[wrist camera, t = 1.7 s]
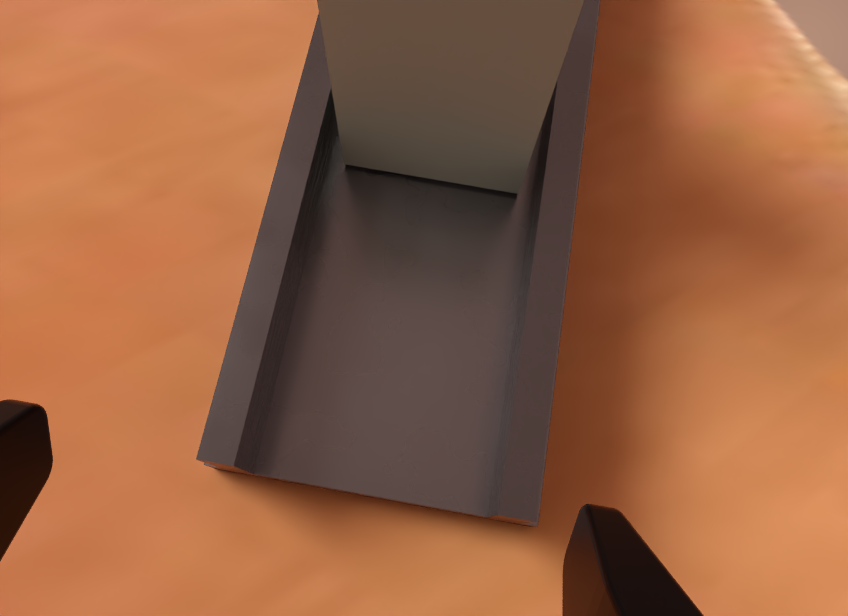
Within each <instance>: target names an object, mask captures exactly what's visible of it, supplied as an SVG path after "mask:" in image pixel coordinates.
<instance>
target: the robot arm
mask: <svg viewBox="0 0 848 616" xmlns="http://www.w3.org/2000/svg"><path fill="white" fill-rule="evenodd" d="M52 463H53V456H52V448H51V441H50V433H49V426H48V418H47V414H46V411H45V410H44V408H43V407H42V406H40V405H38V404H34V403H29V402H23V401H18V400H3V401H0V561H1V559H2V557H3V556H4V554H5V552H6V551H7V549H8V547H9V545H10V544H11V542H12V540H13V538H14V537H15V535H16V533H17V532H18V530H19V528H20V526H21V525H22V523H23V521H24V519H25V518H26V516H27V514H28V513H29V511H30V509H31V507H32V506H33V504H34V502H35V500H36V499H37V497H38V495H39V494H40V492H41V490H42V488H43V487H44V485H45V483H46V481H47V480H48V478H49V475H50V472H51V469H52ZM563 616H704V615H703V614H702V613H701V612H700V610H699V609H698V608H697V607H696V605H695V604H694V603H693V602H692V600H691V599H690V598H689V597H688V595H687V594H686V593H685V592H684V590H683V589H682V588H681V587H680V585H679V584H678V583H677V582H676V580H675V579H674V578H673V576H672V575H671V574H670V573H669V571H668V570H667V569H666V568H665V566H664V565H663V564H662V563H661V561H660V560H659V559H658V558H657V556H656V555H655V554H654V553H653V551H652V550H651V549H650V548H649V546H648V545H647V544H646V543H645V541H644V540H643V539H642V538H641V536H640V535H639V534H638V533H637V531H636V530H635V529H634V528H633V526H632V525H631V524H630V523H629V521H628V520H627V519H626V518H625V516H624V515H623V514H622V513H621V512H620V511H619V510H617V509H614V508H609V507H604V506H598V505H593V504H586V505H584V506H583V507H582V508H581V510H580V511H579V514H578V517H577V520H576V523H575V526H574V529H573V532H572V535H571V538H570V541H569V544H568V547H567V550H566V554H565V558H564V565H563Z"/></svg>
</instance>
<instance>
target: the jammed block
mask: <svg viewBox="0 0 848 616" xmlns="http://www.w3.org/2000/svg"><path fill="white" fill-rule="evenodd" d="M317 2H318V9H319V15H320V21H321V27H322V33H323V39H324V45H325V52H326V58H327V64H328V70H329V76H330V82H331V89H332V95H333V101H334V107H335V113H336V119H337V125H338V132H339V138H340V144H341V150H342V156H343V162H344V164H347V165H353V166H358V167H364V168H370V169H376V170H382V171H388V172H393V173H399V174H405V175H411V176H417V177H423V178H429V179H434V180H440V181H446V182H452V183H458V184H464V185H469V186H475V187H481V188H487V189H493V190H499V191H504V192H510V193H516V194H519V191H520V188H521V185H522V182H523V179H524V176H525V173H526V170H527V167H528V164H529V161H530V158H531V155H532V152H533V149H534V146H535V144H536V141H537V138H538V135H539V132H540V129H541V126H542V123H543V120H544V117H545V114H546V111H547V108H548V105H549V102H550V99H551V96H552V93H553V90H554V87H555V85H556V82H557V79H558V76H559V73H560V70H561V67H562V64H563V61H564V58H565V55H566V52H567V49H568V46H569V43H570V40H571V37H572V34H573V31H574V28H575V26H576V23H577V20H578V17H579V14H580V11H581V8H582V5H583V2H584V0H317Z"/></svg>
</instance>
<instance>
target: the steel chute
mask: <svg viewBox="0 0 848 616" xmlns="http://www.w3.org/2000/svg"><path fill="white" fill-rule="evenodd" d="M599 7H600V0H584V2H583V5H582V8H581V11H580V14H579V17H578V20H577V23H576V26H575V28H574V31H573V34H572V37H571V40H570V43H569V46H568V49H567V52H566V55H565V58H564V61H563V64H562V67H561V70H560V73H559V76H558V79H557V82H556V85H555V87H554V90H553V93H552V96H551V99H550V102H549V105H548V108H547V111H546V114H545V117H544V120H543V123H542V126H541V129H540V132H539V135H538V138H537V141H536V144H535V146H534V149H533V152H532V155H531V158H530V161H529V164H528V167H527V170H526V173H525V176H524V179H523V182H522V185H521V188H520V191H519V194H516V193H510V192H504V191H499V190H493V189H487V188H481V187H475V186H469V185H464V184H458V183H452V182H446V181H440V180H434V179H429V178H423V177H417V176H411V175H405V174H399V173H393V172H388V171H382V170H376V169H370V168H364V167H358V166H353V165H347V164H344V162H343V156H342V150H341V144H340V138H339V132H338V125H337V119H336V113H335V107H334V101H333V95H332V89H331V82H330V76H329V70H328V64H327V58H326V52H325V45H324V39H323V33H322V27H321V21H320V15H319V14H318V18H317V21H316V25H315V29H314V32H313V36H312V39H311V43H310V47H309V50H308V54H307V58H306V61H305V65H304V69H303V72H302V76H301V80H300V83H299V87H298V90H297V94H296V98H295V101H294V105H293V109H292V112H291V116H290V120H289V123H288V127H287V130H286V134H285V138H284V141H283V145H282V149H281V152H280V156H279V160H278V163H277V167H276V171H275V174H274V178H273V181H272V185H271V189H270V192H269V196H268V200H267V203H266V207H265V211H264V214H263V218H262V222H261V225H260V229H259V232H258V236H257V240H256V243H255V247H254V251H253V254H252V258H251V262H250V265H249V269H248V273H247V276H246V280H245V283H244V287H243V291H242V294H241V298H240V302H239V305H238V309H237V313H236V316H235V320H234V323H233V327H232V331H231V334H230V338H229V342H228V345H227V349H226V353H225V356H224V360H223V364H222V367H221V371H220V374H219V378H218V382H217V385H216V389H215V393H214V396H213V400H212V404H211V407H210V411H209V415H208V418H207V422H206V425H205V429H204V433H203V436H202V440H201V444H200V447H199V451H198V455H197V458H196V460H199V461H202V462H204V465H206V466H209V467H212V468H216V469H222V470H227V471H233V472H238V473H243V474H249V475H254V476H260V477H265V478H271V479H276V480H281V481H287V482H292V483H298V484H303V485H308V486H314V487H319V488H325V489H330V490H336V491H341V492H346V493H352V494H357V495H363V496H368V497H373V498H379V499H384V500H390V501H395V502H401V503H406V504H411V505H417V506H422V507H428V508H433V509H439V510H444V511H449V512H455V513H460V514H466V515H471V516H476V517H482V518H487V519H493V520H498V521H504V522H509V523H514V524H520V525H525V526H531V527H536V526H538V520H539V511H540V503H541V495H542V486H543V478H544V469H545V461H546V453H547V444H548V436H549V427H550V419H551V411H552V402H553V394H554V385H555V377H556V369H557V360H558V352H559V343H560V335H561V327H562V318H563V310H564V301H565V293H566V285H567V276H568V268H569V259H570V251H571V243H572V234H573V226H574V217H575V209H576V201H577V192H578V184H579V175H580V167H581V159H582V150H583V142H584V133H585V125H586V117H587V108H588V100H589V91H590V83H591V75H592V66H593V58H594V49H595V41H596V32H597V24H598V16H599Z"/></svg>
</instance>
